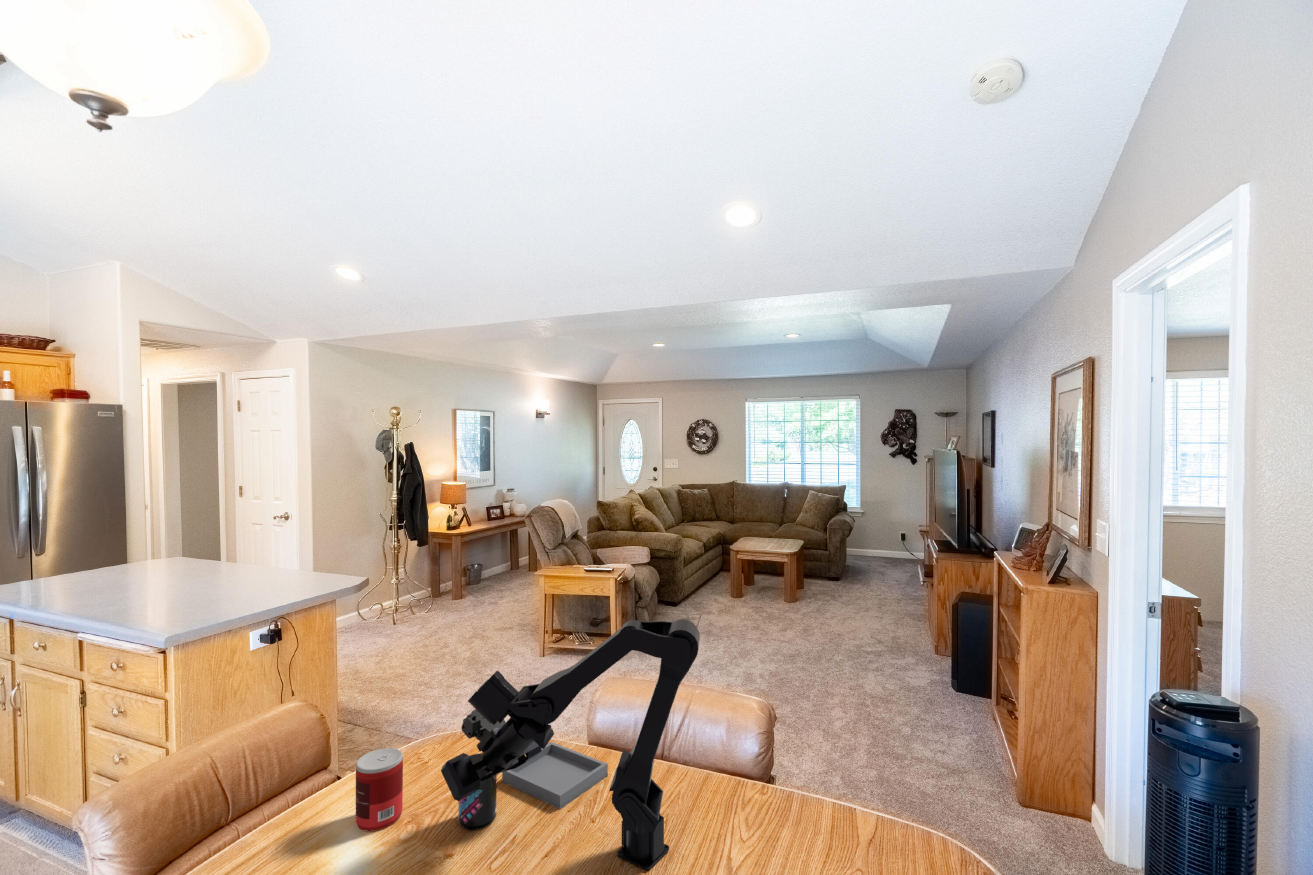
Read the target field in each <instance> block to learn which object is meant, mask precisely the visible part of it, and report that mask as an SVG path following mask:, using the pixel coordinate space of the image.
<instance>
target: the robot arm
mask: <svg viewBox="0 0 1313 875" xmlns="http://www.w3.org/2000/svg"><path fill="white" fill-rule="evenodd" d="M700 638H701V633H700V630H699V628H698V627H697V625H695V624H694V622H692V621H690V620H689V619H677V620H675V621H668V620H667V621H666V620H652V621H651V620H648V621H645V620H644V621H643V620H637V619H629V620H628V621H626V622H625V623H624V624H623V625H622V626H621V627H620V628H619V629H618V630H617V631H616V632H614V633H613V634H611V635H610V636H609V637H608V638H606V639H605V640H604V641H603V642H602V643H600V644H599V645H597V646H596V647H595V648H594V649H593V650H591V651H590V652H588V654H586V655H585V656H584V657H582V658H581V659H580V660H578V661H577V662H576V663H575V664H574V665H571V666H570V667H568V668H566V669H562V670H560V671H559V670H558V671H557V672H555V673H554V674H552V675H550V676H547V677H545V678H544V679H543V680H542V681H541V682H540V683H535V684H528V685H524V686H522V688H521V689H520V690H517V689H516V688H515V687H514V686H513V685H512V684H511V683H510V682H509V681H508V680H507V679H506V678H505V676H504V675H503V674H502V673H501V672H500V671H499V670H496V671H495V672H494V673H493V674H492V675H491V676H490V677H489V678H488V679H487V680H486V681H485V682H484V683H483V684H482V685H480V687H479V688H478V689H477V690H476V691H475V692H474V693H473V694H472V695H471V696H470V697H469V699H468V700H467V703H469V704H470V705H471V706H472V707H473V708H474V710H471V713H469V714H467V716H466V717H465V718H463V720H462V724H461V728H460V729H461V732H462V733H463V734H464V735H465V737H466V738H468V739H472V738H475V739H476V740H477V741H479V742H478V743H477V744H476V748H477V750H478V752H479V753H480V752H481V753H482V759H483V760H481V761H479V762H478V763H476V764H474V765H473V764H472V762H471V759H470V757H469V756H470V755H469V754H467V753H465V752H463V753H460V754H458V755H456V756H455V757H453V758H451V759H448V760H447V761H446V762H445V763H444V764H443V765H442V766H441V770H440V772H441V774H442V776H443V779H444V780H445V783H446V785H447V787H448V789H449V792H450V793H451V796H452V798H453V799H454V801H457V802H459V801H460V800H461V799H463V798H465V797H467V796H468V795H470V794H472V793H474V792H475V791H477V790H479V789H480V788H479V787H480V781H481V777H483V776H485V775H486V774H488V773H490V772H493V774H494V776H496V775H497V776H498V775H500V774H501V773H502V772H504V771H508V770H511V769H515V768H517V767H519V766H521V765H522V764H524V763H526V762H528V761H529V760H531V759H533V758H535V757H536V756H537V755H538V754H539V753H540V752H541V748H542V749H544V748H545V747H546V745H547V744H549V743H550V741H551V740H552V738H553V737H554V735H555V733H554V730H553V728H552V725H551V724H552V723H554V722H555V721H556V720H557V719H558V718H559V717H560V716H561V714H562V713H564V711H565V710H566V709H567V708H568V707H569V705H570V704H571V703H572V702H573V701H574V699H575V698H576V697H577V696H578V694H580V692H581V691H583V689H584V688H586V687H587V686H589V684H591V683H592V682H594V680H595V679H596V680H597V678H598V677H600V676H601V675H602V674H604V673H605V672H607V670H609V669H610V668H612V666H614V665H615V664H616V663H617V662H619V661H620V660H621V659H623V658H625V656H626V655H628V654H630V652H632V651H634V652H635V651H636V652H641V653H643V654H644V655H645V654H646V655H648V656H651V657H653V658H656V659H660V666H659V673H658V678H657V681H656V682H655V687H654V689H653V692H652V696H651V697H650V701H649V704H648V706H647V707H648V708H647V709H646V713H645V716H644V719H643V721H642V725H641V728H640V731H639V733H638V737H637V740H636V742H635V745H634V747H633V748H632V749H631V751H630V752H628V751H627V750H625V749H622V751H621V755H620V758H619V761H618V764H617V767H615V772H614V775H613V778H612V780H611V784H610V788H609V792H612V795H611V804H612V805H613V807H614V809H615V810H616V812H618V813H619V814H620V817H621V819H622V820H621V846H622V847H621V848H620V849H619V850H618V851H617V852H616V853H617V854H616V855H617V857H619V858H621V859H623V860H625V861H627V862H629V863H631V864H633V865H635V866H637V867H639V868H641V869H643V870H645V871H649V870H651V869H652V868H653V867H654V866H655V865H656V864H657V863H658V862H659V861H660V860H661V859H662V858H663V857H664V856H665V855H666V854H667V853H668V852H669V851H670V846H669V845H668V844H665V817H664V816H662V815H661V807H662V801H663V795H664V791H663V789H662V788H661V787H660V786H659V785H658V784H657V783H656V782H655V781H654V780H653V777H652V776H653V769H654V763H655V757H656V754H657V752H658V748H659V746H660V742H661V740H662V736H663V735H664V734H663V733H664V731H665V728H666V724H667V723H668V718H669V716H670V713H671V710H672V708H673V705H674V702H675V699H676V696H677V692H678V690H679V687H680V685H681V684H682V683H681V682H683V680H684V679H685V677H686V676H687V674H688V673H689V671H690V670H691V667H692V665H693V664H694V662H695V660H696V659H697V656H698V653H699V648H700V647H699V646H700ZM507 716H508V717H509V719H507V720H505V719H506V718H507ZM485 767H486V768H485ZM483 768H484V769H483ZM481 769H483V770H481ZM479 770H481V771H479ZM477 771H479V772H477Z"/></svg>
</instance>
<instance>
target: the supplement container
mask: <svg viewBox="0 0 1313 875" xmlns="http://www.w3.org/2000/svg"><path fill="white" fill-rule="evenodd" d="M482 753H483V752H481V753H480V752H479V753H474V754H470V755H469V757H470V759H471V762H472V764H473V765H474V764H476V763H478V762H479V761H481V760H483V759H482ZM485 768H486V767H485ZM483 769H484V768H483ZM483 769H481V770H483ZM481 770H479V771H481ZM479 771H477V772H479ZM497 776H498V775H496V776H494V774H493V772H490V773H488V774H486V775H485V776H483V777H481V781H480V787H479V788H480V789H479V790H477V791H475V792H474V793H472V794H470V795H468V796H467V797H465V798H463V799H461V800H460V801H458V824H459V825H460V826H461V827H462V828H463V829H465V830H468V831H476V830H477V831H478V830H482V829H484V828H486V827H489V826H490V825H491V824H492V823H493V822H494V821H495V819H496V817H497V798H498V796H497V793H498V792H497V791H498V790H497V787H498V786H497V785H498V784H497V782H498V781H497V778H498V777H497Z"/></svg>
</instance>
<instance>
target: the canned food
mask: <svg viewBox="0 0 1313 875" xmlns="http://www.w3.org/2000/svg"><path fill="white" fill-rule="evenodd" d="M403 776H404V755H403V752H402V750H400V749H398V748H394V747H387V748H386V747H385V748H379V749H375V750H372V751H369V752H367V753H365V754H363V755H362V756H360V758H358V759H357V761H356V764H355V824H356V826H357V828H358V829H359V830H362V831H363V830H364V832H376V831H380V830H383V829H386V828H388V827H391V826H392V825H394V824H395V823H396V822H397V821H399V819H400V817H401V814H402V812H403V804H404V803H403V802H404V801H403V798H404V797H403V796H404V795H403V793H404V791H403V788H404V784H403V781H404V780H403V779H404V777H403Z"/></svg>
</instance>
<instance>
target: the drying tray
mask: <svg viewBox="0 0 1313 875" xmlns="http://www.w3.org/2000/svg"><path fill="white" fill-rule="evenodd" d="M608 765H609V764H608V763H607V762H604V761H601V760H599V759H597V758H593V757H591V756H588V755H586V754H583V753H581V752H578V751H576V750H573V749H571V748H568V747H566V746H563V745H561V744H558V743H555V742H553V741H551V742H550V741H549V743H548V744H547V745H546V747H545V748H544V749H542V748H541V752H540V753H539V754H538V755H537V756H536V757H535V758H533V759H531V760H529V761H528V762H526V763H524V764H522V765H521V766H519V767H517V768H515V769H511V770H508V771H504V772H501V773H502V774H501V775H502V776H501V782H502V783H503V784H505V785H508V786H510V787H513V788H514V789H516V790H518V791H520V790H521V792H523V793H524V794H527V795H529V796H531V797H534V798H536V799H537V800H539V801H542V802H544V803H546V804H548V805H550V806H552V807H554V808H557V809H559V810H561V809H563V808H564V807H566V806H567V805H568V804H570V803H571V802H572V801H574V800H576V799H577V798H579V797H580V796H581V795H582V794H584V793H586V792H587V791H588V790H589V789H591V788H593V787H594V786H595V785H597V784H599V782H601V781H603V780H604V779H606V778H607V777H609V776H608V774H609V773H608V772H609V771H608V770H609V768H608V767H609V766H608Z"/></svg>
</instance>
